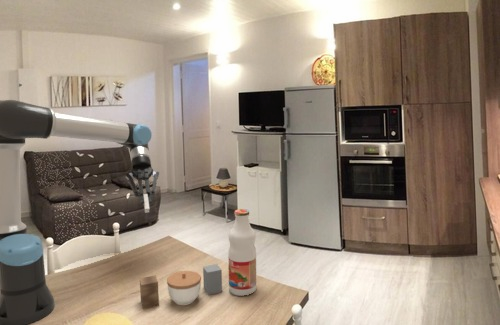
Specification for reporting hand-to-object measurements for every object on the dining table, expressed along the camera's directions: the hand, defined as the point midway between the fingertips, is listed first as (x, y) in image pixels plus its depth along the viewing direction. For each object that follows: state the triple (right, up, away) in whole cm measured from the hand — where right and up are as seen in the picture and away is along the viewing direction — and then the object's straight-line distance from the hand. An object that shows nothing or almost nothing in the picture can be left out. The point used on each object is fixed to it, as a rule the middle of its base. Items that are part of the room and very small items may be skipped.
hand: (147, 210), depth 130 cm
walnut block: (+6, -27, -17) cm, 33 cm away
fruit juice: (+35, -26, -9) cm, 45 cm away
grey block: (+25, -26, -9) cm, 37 cm away
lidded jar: (+17, -27, -16) cm, 36 cm away
